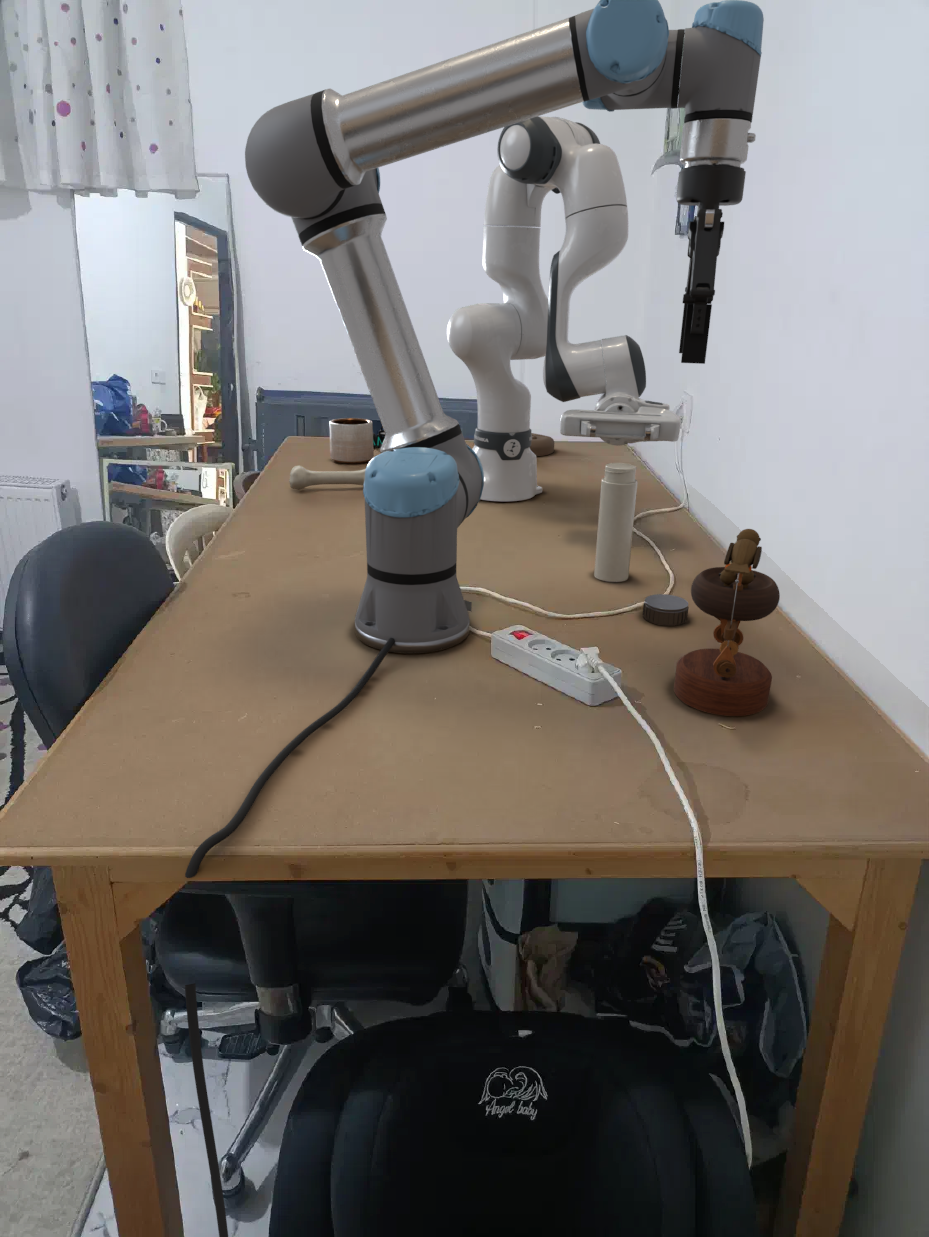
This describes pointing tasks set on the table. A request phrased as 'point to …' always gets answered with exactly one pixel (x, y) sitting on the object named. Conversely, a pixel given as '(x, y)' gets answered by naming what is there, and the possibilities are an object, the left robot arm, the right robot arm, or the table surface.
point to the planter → (351, 440)
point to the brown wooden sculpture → (729, 635)
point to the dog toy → (324, 477)
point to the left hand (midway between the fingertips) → (691, 358)
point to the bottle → (615, 522)
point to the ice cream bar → (541, 444)
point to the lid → (665, 609)
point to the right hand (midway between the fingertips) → (620, 433)
